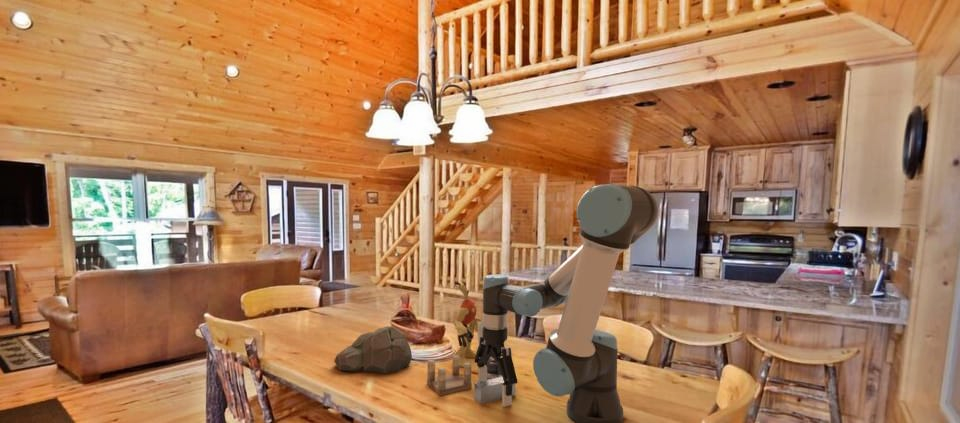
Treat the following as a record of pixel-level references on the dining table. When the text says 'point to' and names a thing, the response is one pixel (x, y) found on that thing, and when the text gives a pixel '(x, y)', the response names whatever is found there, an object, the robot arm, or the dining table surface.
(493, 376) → the base
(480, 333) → the mug
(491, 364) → the dark grey mechanical part
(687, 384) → the dining table surface
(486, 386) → the bar
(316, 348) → the dining table surface
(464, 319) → the toy
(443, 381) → the rack
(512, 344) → the dining table surface
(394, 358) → the decorative rock
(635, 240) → the robot arm
